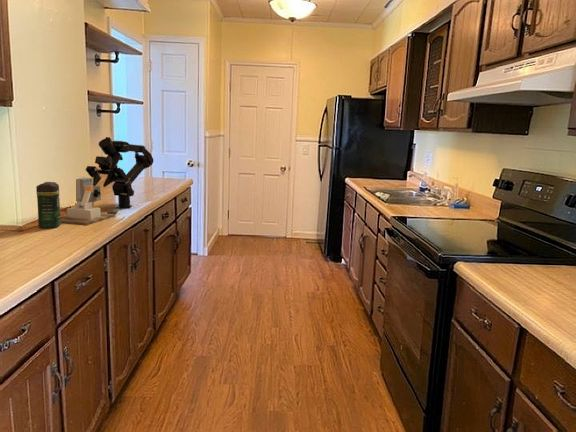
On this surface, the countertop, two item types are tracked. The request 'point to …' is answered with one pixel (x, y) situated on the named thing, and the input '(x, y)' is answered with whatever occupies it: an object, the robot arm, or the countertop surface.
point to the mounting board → (85, 221)
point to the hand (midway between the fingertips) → (98, 186)
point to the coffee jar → (48, 205)
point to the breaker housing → (83, 211)
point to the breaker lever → (86, 195)
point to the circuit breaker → (80, 190)
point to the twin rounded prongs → (112, 211)
